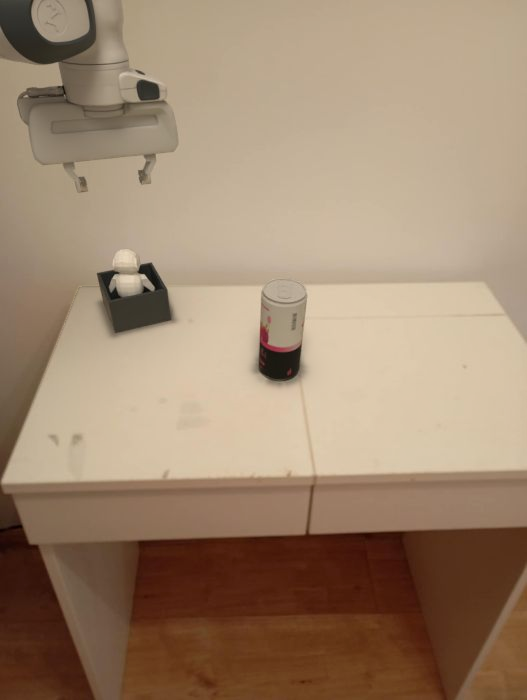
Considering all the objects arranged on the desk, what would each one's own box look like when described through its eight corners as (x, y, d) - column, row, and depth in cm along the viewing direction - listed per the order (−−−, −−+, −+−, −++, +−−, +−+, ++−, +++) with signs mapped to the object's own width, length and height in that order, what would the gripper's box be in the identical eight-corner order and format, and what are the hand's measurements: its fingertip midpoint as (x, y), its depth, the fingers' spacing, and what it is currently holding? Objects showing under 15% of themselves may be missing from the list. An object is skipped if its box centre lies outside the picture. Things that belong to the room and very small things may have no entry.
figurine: (158, 302, 88) (150, 244, 80) (155, 317, 84) (146, 257, 77) (114, 302, 87) (102, 244, 80) (109, 317, 84) (96, 257, 76)
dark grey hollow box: (115, 333, 81) (108, 302, 77) (103, 302, 88) (96, 272, 84) (171, 319, 85) (167, 289, 81) (155, 291, 92) (151, 262, 87)
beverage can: (256, 380, 74) (259, 301, 64) (260, 353, 79) (263, 275, 69) (298, 383, 73) (307, 304, 64) (299, 356, 78) (307, 278, 69)
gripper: (14, 93, 57) (44, 204, 66) (178, 85, 64) (184, 186, 73) (11, 83, 61) (39, 188, 70) (164, 76, 68) (172, 172, 77)
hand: (114, 187), depth 71 cm, fingers open, 8 cm apart
